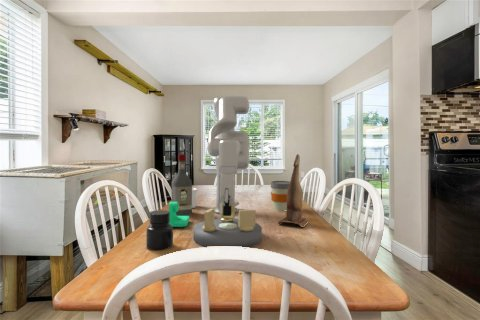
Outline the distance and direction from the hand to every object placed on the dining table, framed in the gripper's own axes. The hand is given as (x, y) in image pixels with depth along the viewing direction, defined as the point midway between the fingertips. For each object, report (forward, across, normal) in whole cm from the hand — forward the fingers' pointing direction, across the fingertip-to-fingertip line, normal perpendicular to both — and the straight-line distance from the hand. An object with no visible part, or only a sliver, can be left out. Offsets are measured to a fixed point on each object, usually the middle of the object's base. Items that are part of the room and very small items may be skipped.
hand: (227, 214), depth 122 cm
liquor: (+7, -27, -25) cm, 38 cm away
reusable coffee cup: (+7, -42, +26) cm, 50 cm away
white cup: (+7, -43, -24) cm, 50 cm away
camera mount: (+7, -8, -22) cm, 24 cm away
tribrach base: (+7, +8, +1) cm, 11 cm away
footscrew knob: (+3, 0, 0) cm, 3 cm away
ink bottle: (+7, +19, -22) cm, 30 cm away
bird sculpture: (+7, -13, +29) cm, 33 cm away
